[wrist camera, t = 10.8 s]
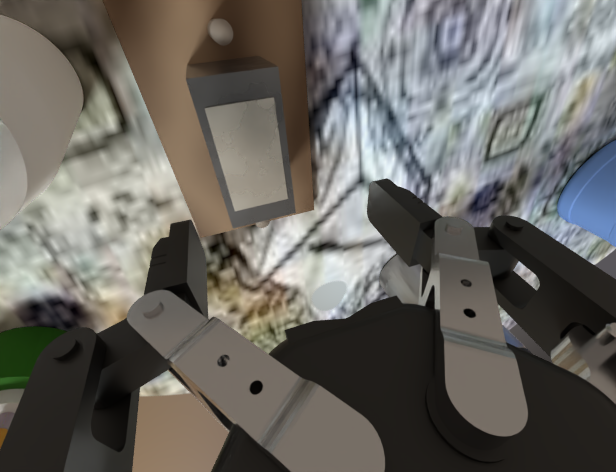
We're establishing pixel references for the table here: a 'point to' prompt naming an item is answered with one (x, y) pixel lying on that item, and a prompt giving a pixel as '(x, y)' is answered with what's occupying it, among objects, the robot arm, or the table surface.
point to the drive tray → (206, 48)
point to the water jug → (593, 195)
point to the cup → (32, 114)
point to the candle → (19, 366)
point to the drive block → (245, 135)
